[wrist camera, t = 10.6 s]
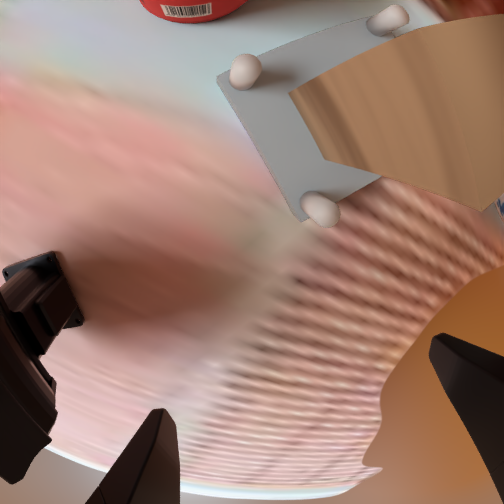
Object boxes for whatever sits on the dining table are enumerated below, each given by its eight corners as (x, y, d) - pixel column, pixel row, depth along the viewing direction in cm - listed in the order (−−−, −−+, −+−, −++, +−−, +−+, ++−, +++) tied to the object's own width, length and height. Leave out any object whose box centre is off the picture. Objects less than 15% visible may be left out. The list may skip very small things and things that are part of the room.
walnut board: (324, 159, 17) (481, 212, 6) (287, 93, 15) (418, 28, 4) (398, 120, 16) (560, 136, 5) (367, 58, 14) (522, 12, 3)
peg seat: (293, 214, 20) (316, 238, 15) (216, 82, 16) (216, 63, 11) (424, 140, 19) (468, 147, 14) (367, 21, 15) (404, 0, 10)
